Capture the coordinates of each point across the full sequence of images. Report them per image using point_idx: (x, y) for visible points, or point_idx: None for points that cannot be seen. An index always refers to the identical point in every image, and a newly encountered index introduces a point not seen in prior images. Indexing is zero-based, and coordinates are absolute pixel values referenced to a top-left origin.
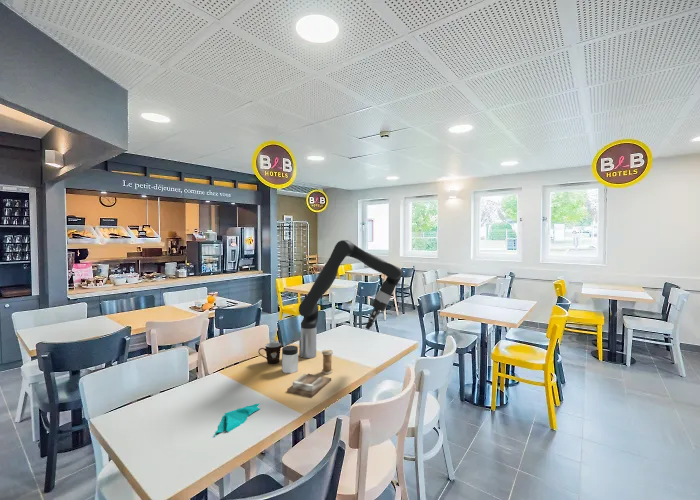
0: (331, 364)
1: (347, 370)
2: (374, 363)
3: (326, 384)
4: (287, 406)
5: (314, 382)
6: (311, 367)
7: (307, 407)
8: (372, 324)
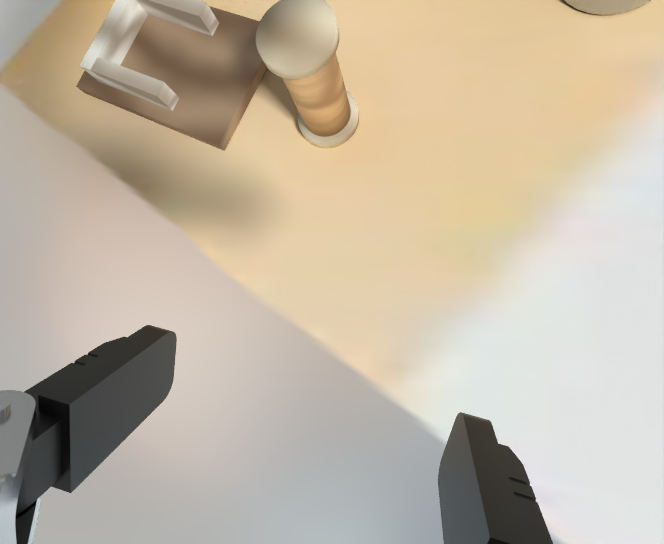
0: (316, 118)
1: (348, 229)
2: None
3: (182, 132)
4: (39, 25)
5: (111, 68)
6: (396, 29)
7: (22, 90)
8: (444, 530)
